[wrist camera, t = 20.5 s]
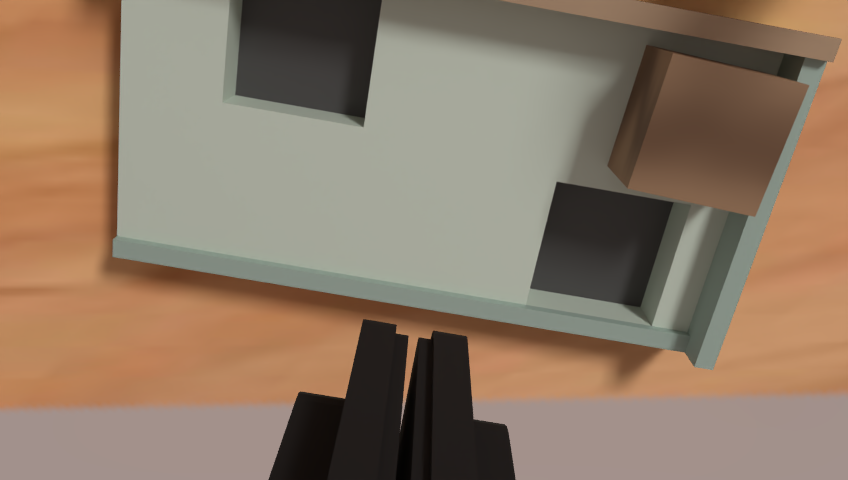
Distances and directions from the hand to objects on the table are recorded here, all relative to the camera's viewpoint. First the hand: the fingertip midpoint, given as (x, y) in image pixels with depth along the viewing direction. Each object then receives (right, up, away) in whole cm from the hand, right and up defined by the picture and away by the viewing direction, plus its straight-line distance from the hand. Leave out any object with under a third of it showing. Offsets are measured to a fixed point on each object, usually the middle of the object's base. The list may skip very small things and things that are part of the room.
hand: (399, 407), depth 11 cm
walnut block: (+13, +8, +23) cm, 28 cm away
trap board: (+1, +8, +26) cm, 27 cm away
